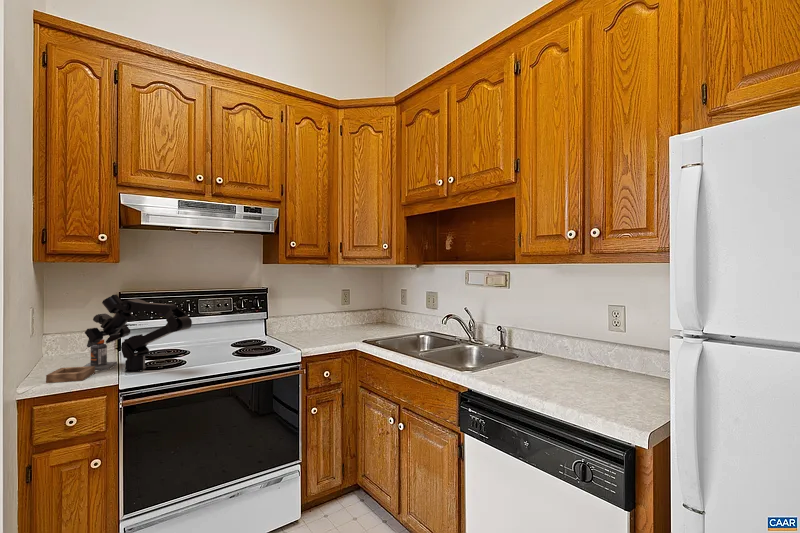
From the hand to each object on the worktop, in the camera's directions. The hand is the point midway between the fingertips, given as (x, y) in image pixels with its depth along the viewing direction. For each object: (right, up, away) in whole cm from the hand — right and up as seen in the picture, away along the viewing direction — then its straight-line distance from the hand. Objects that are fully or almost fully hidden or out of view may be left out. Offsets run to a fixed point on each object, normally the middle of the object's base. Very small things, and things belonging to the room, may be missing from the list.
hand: (97, 344), depth 184 cm
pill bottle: (+1, -9, 0) cm, 9 cm away
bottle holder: (+2, -10, -17) cm, 20 cm away
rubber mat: (+1, -10, 0) cm, 10 cm away
